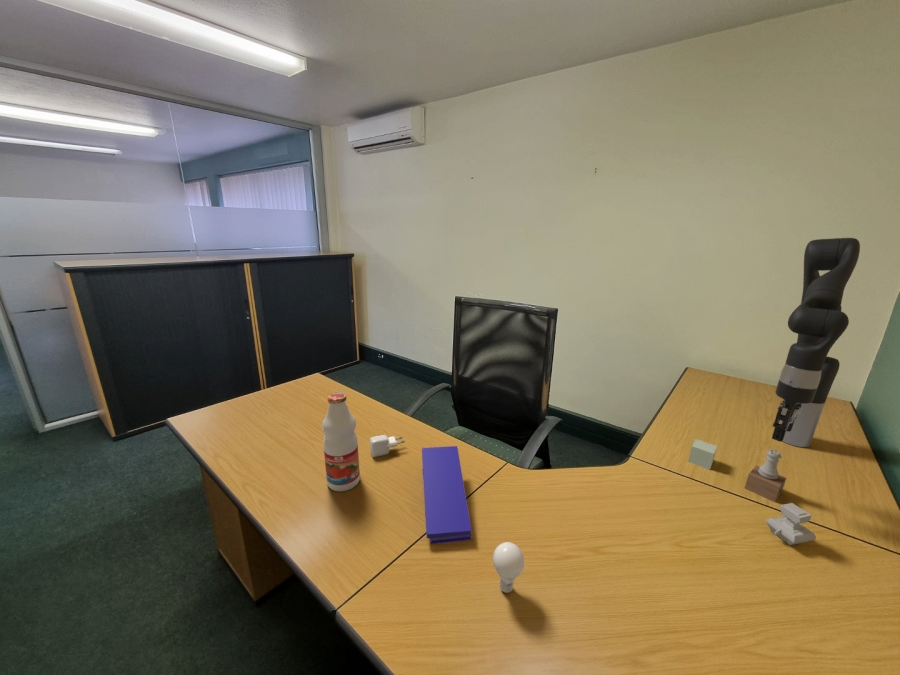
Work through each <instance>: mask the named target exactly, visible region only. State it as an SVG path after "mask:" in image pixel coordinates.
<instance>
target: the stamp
mask: <svg viewBox="0 0 900 675" xmlns="http://www.w3.org/2000/svg"><path fill="white" fill-rule="evenodd" d="M779 510H780V513H781V514H782V515H783V516H778V517H771V518H767V519H766V520H765V523H766V525H767V527H768V528H769V529H770V531H771V532H773V534H774V535H775V536H777V537H778V538H780V539H781V540H782V541H784V542H785V543H787V544H788V545H789V546H793V545H799V544H804V543H807V542H810V541H813V540H816V538H817V537H816V534H815V533H814V532H813V531H811V530H810V529H808V528H807V527H806V526H804V525H802V524H804V523H805V524H806V523H809V522H810V520H811V518H812V514H810V513H809V512H807V511H805V510H804V509H802V508H801V507H800V506H798V505H796V504H795V503H793V502H789V503H785V504H780V507H779Z"/></svg>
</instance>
